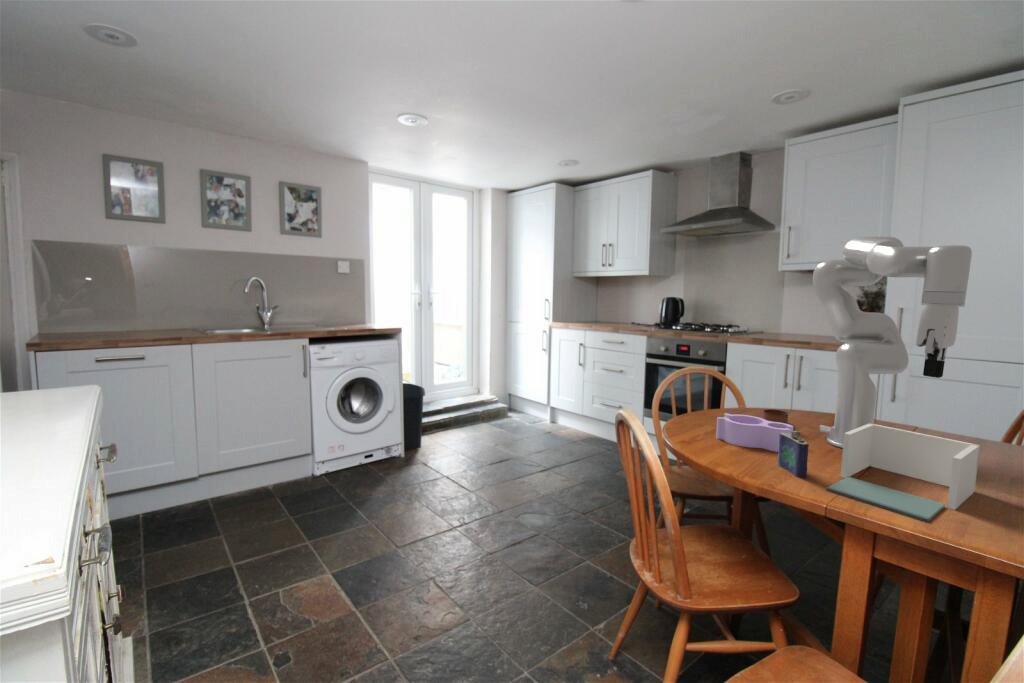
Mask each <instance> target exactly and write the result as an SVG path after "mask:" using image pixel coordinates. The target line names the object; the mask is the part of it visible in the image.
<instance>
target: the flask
mask: <svg viewBox="0 0 1024 683" xmlns="http://www.w3.org/2000/svg"><path fill="white" fill-rule="evenodd" d="M790 432H791V433H792V434H787V433H779V450H778V452H777V453H778V454H777V464H776V465H777V466H778V467H780V468H782V469H785V470H786V471H788V472H789V473H791V474H792V475H793V476H794V477H795V478H799V479H803V480H804V479H807V477H808V476H807V474H808V460H809V458H808V457H809V443H808V442H807V441H806V440H805V439H803V438H802V437H801V435H799V433H801V431H800V430H793V431H790Z"/></svg>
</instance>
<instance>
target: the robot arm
mask: <svg viewBox="0 0 1024 683" xmlns="http://www.w3.org/2000/svg"><path fill="white" fill-rule="evenodd" d="M842 256H843V258H844V259H829V260H825V261H822V262H820V263H818V264H817V265H816V266H815V268H814V270H813V274H812V286H813V290H814V292H815V294H816V296H817V298H818V300H819V301H820V302H821V304H822V306H823V307H824V308H823V309H824V311H825V314H826V316H827V320H828V322H829V326H830V328H831V330H832V333H833V335H834V337H835V339H836V340H838V342H841V343H842V342H843V344H842V345H840V346H839V347H838V348H837V350H836V353H835V360H836V361H835V362H836V369H837V387H836V388H837V389H836V402H835V412H834V413H835V414H834V422H833V423H834V424H833V426H828V425H824V424H820V425H819V428H818V430H819V432H820V433H824V434H828V436H827V437H826V442H828V444H830V445H833V446H835V447H838V448H841V449H843V442H844V433H846V432H849V431H851V430H854V429H856V428H859V427H861V426H864V425H866V424H869V423H871V424H875V423H874V421H875V411H876V400H877V389H876V385H875V383H874V382H873V380H872V379H871V376H870V375H897V374H898V375H899V374H901V373H903V372H905V370H906V369H907V368H908V365H909V354H908V351H907V348H906V345H905V344H904V341H903V339H902V336H901V333H900V331H899V329H898V327H897V324H896V323H895V321H894V319H892V317H891V316H890V315H888V314H886V313H882V312H870V311H869V312H865V311H862V310H861V309H860V308H859V305H858V303H857V300H856V299H855V297H854V296H853V295H852V294H851V293H850V292H849V291H847V290H845V289H844V288H843V287H870V286H872V285H873V286H874V285H875V284H876V283H878V282H879V281H881V279H883V277H888V278H922V279H923V278H924V280H923V286H922V287H923V288H922V292H921V293H922V295H921V302H920V304H921V306H923V307H922V310H921V313H920V318H919V323H918V328H917V334H916V339H915V345H916V346H917V347H918V348H920V347H921V348H922V347H924V355H925V356H924V364H923V373H922V375H923V376H924V377H930V378H936V379H940V378H943V376H944V367H945V362H946V361H945V360H946V355H947V350H948V348H950V347H952V346H954V344H955V343H956V338H957V333H958V324H959V312H960V311H959V310H960V308H962V307H965V305H966V297H967V290H968V285H969V284H968V283H969V277H970V269H971V263H972V262H971V261H972V256H973V253H972V248H971V247H970V246H969V245H968V246H967V245H961V244H959V245H958V244H957V245H955V244H954V245H952V244H951V245H937V246H904V244H903V242H902V240H900V239H899V238H897V237H893V236H859V237H855V238H853V239H850V240H849V241H848V242H846V244H845V245H844V246H843V249H842Z"/></svg>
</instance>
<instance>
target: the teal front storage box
mask: <svg viewBox="0 0 1024 683" xmlns="http://www.w3.org/2000/svg"><path fill="white" fill-rule="evenodd" d="M980 448H981V444H977V443H970V442H966V441H962V440H961V441H960V440H956V439H951V438H946V437H941V436H935V435H930V434H926V433H921V432H916V431H910V430H905V429H901V428H895V427H892V426H891V427H890V426H886V425H885V426H884V425H880V424H875V423H873V424H871V423H869V424H866V425H864V426H861V427H859V428H856V429H854V430H851V431H849V432H846V433H844V442H843V448H842V453H841V454H842V456H841V464H840V465H841V466H840V476H839V477H840V478H843V479H844V478H846V477H852V476H853V475H855V474H857V473H859V472H861V471H863V470H865V469H866V468H869V467H872V468H876V469H879V470H884V471H887V472H890V473H895V474H898V475H902V476H907V477H910V478H914V479H917V480H921V481H926V482H929V483H933V484H938V485H940V486H941V485H942V486H945V487H949V489H948V498H947V505H946V506H947V509H950V510H954V511H955V510H956V509H957V508H959V507H960V506H961V505H962V504H963V503H964V502H965V501H966V500H967V499H968V498H970V496H972V495H973V494H974V493H975V490H976V481H977V472H978V464H979V459H980V458H979V457H980V450H981V449H980Z"/></svg>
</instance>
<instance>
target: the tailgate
mask: <svg viewBox="0 0 1024 683" xmlns="http://www.w3.org/2000/svg"><path fill="white" fill-rule="evenodd" d="M825 491H826V492H830V493H832V494H836V495H839V496H842V497H845V498H849V499H852V500H854V501H858V502H861V503H863V504H867V505H871V506H874V507H877V508H879V509H883V510H886V511H890V512H892V513H895V514H898V515H902V516H905V517H908V518H912V519H915V520H918V521H921V522H924V523H928V522H929V521H930V520H932V519H933V518H934V517H935V516H936V515H937V514H939V513H940V511H942V510H943V509H945V507H946V504H945V503H944V502H943V503H942V502H939V501H935V500H932V499H928V498H925V497H921V496H917V495H914V494H911V493H907V492H904V491H901V490H897V489H894V488H890V487H886V486H884V485H883V486H882V485H879V484H876V483H872V482H869V481H865V480H862V479H858V478H855V477H852V476H850V477H846V478H843V479H841V480H839V481H837V482H835V483H834V484H831V485H829V486H827V487H826V489H825Z"/></svg>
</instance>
